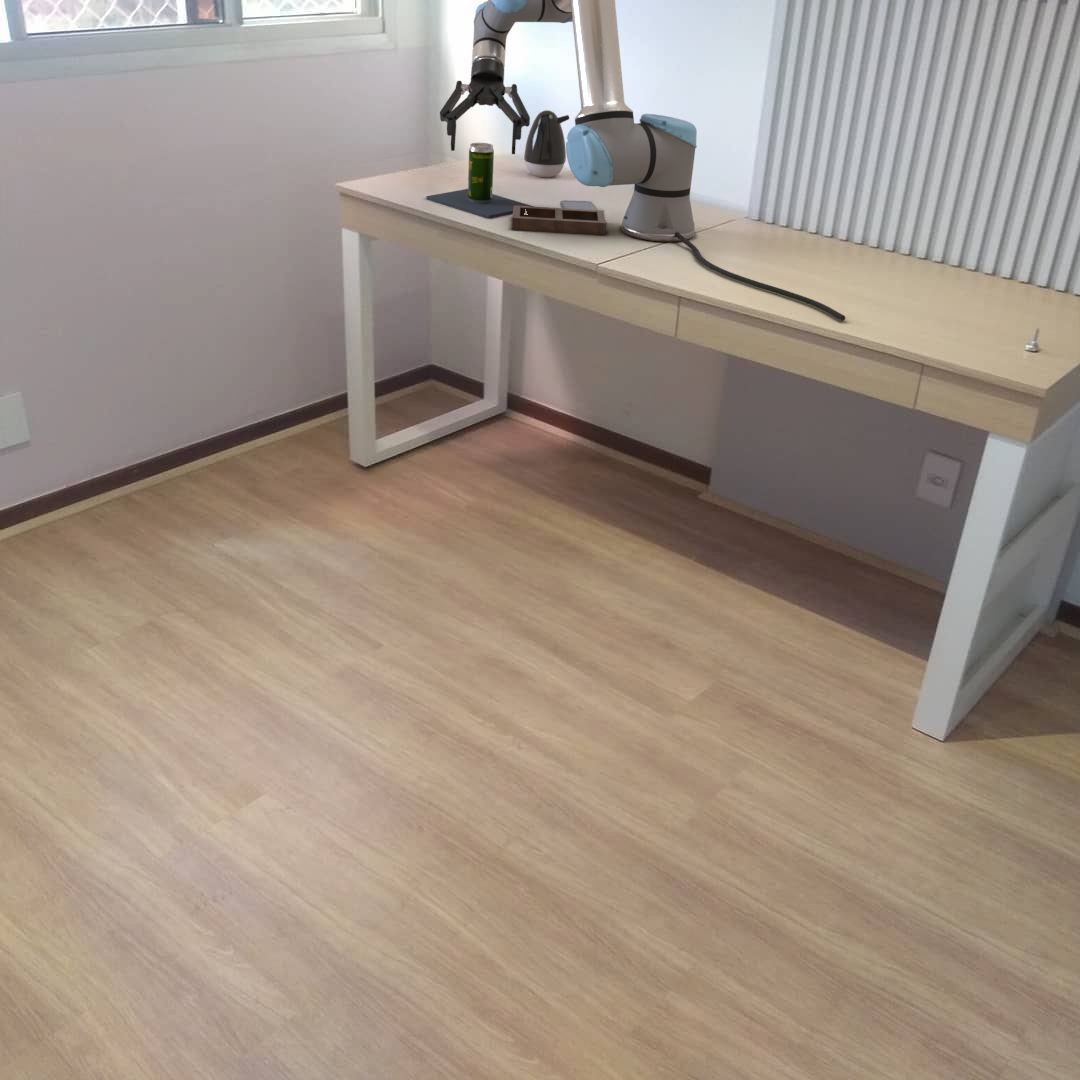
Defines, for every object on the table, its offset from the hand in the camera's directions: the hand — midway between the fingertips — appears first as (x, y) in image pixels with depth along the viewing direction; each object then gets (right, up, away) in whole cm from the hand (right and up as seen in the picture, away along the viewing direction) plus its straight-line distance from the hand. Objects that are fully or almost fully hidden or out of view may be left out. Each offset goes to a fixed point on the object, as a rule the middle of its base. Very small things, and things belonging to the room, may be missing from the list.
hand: (483, 149), depth 259 cm
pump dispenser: (+14, +2, +26) cm, 30 cm away
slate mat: (-1, -13, -2) cm, 13 cm away
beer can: (-1, -12, -2) cm, 13 cm away
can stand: (+17, -21, -14) cm, 30 cm away
